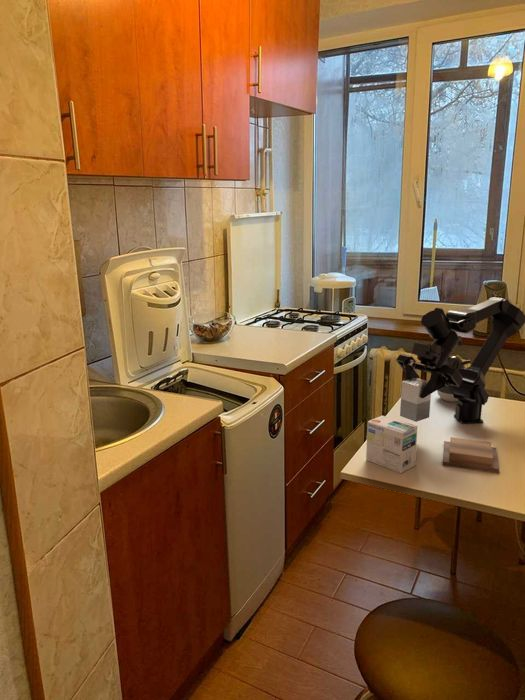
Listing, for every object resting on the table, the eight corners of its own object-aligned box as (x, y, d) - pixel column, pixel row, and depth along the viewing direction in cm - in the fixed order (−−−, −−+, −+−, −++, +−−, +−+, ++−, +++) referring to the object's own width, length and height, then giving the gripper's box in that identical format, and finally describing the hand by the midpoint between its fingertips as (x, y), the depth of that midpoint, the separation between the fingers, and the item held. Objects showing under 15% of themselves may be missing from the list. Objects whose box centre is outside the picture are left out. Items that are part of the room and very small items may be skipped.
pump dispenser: (465, 406, 174) (468, 361, 171) (432, 401, 179) (435, 357, 176) (470, 397, 183) (474, 354, 179) (438, 392, 188) (441, 350, 184)
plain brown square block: (413, 411, 152) (415, 377, 149) (429, 417, 147) (431, 382, 145) (400, 415, 149) (401, 381, 146) (415, 421, 144) (418, 386, 142)
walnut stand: (444, 444, 146) (444, 434, 146) (495, 451, 142) (497, 440, 141) (442, 465, 134) (443, 454, 134) (498, 473, 130) (500, 461, 129)
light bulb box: (416, 465, 135) (418, 425, 132) (401, 474, 130) (403, 432, 127) (380, 452, 142) (382, 414, 140) (364, 460, 138) (366, 420, 135)
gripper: (402, 325, 152) (372, 370, 149) (459, 337, 137) (428, 387, 134) (418, 348, 158) (391, 391, 155) (475, 362, 143) (446, 410, 140)
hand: (412, 394), depth 146 cm, fingers closed on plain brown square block, 5 cm apart
